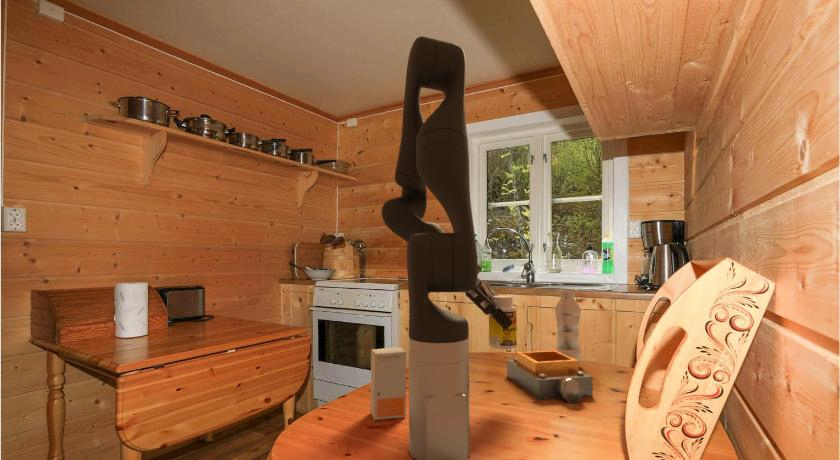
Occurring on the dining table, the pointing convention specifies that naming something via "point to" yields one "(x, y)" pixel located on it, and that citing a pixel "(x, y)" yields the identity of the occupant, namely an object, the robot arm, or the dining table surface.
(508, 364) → the gearbox housing
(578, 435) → the dining table surface
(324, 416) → the dining table surface
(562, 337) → the plastic bottle
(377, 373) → the skincare box
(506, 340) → the supplement bottle
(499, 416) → the dining table surface
